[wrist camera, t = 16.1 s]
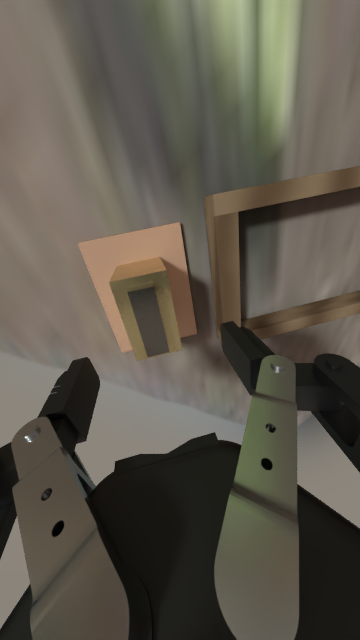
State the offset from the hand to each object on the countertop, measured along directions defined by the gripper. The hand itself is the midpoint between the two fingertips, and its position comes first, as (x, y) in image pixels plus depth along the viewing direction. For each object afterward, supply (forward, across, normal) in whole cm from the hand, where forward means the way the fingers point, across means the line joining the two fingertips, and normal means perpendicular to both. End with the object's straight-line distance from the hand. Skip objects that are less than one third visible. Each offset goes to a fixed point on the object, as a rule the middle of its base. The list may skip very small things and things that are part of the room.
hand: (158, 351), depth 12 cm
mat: (+10, 0, 0) cm, 10 cm away
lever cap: (+9, 0, 0) cm, 9 cm away
